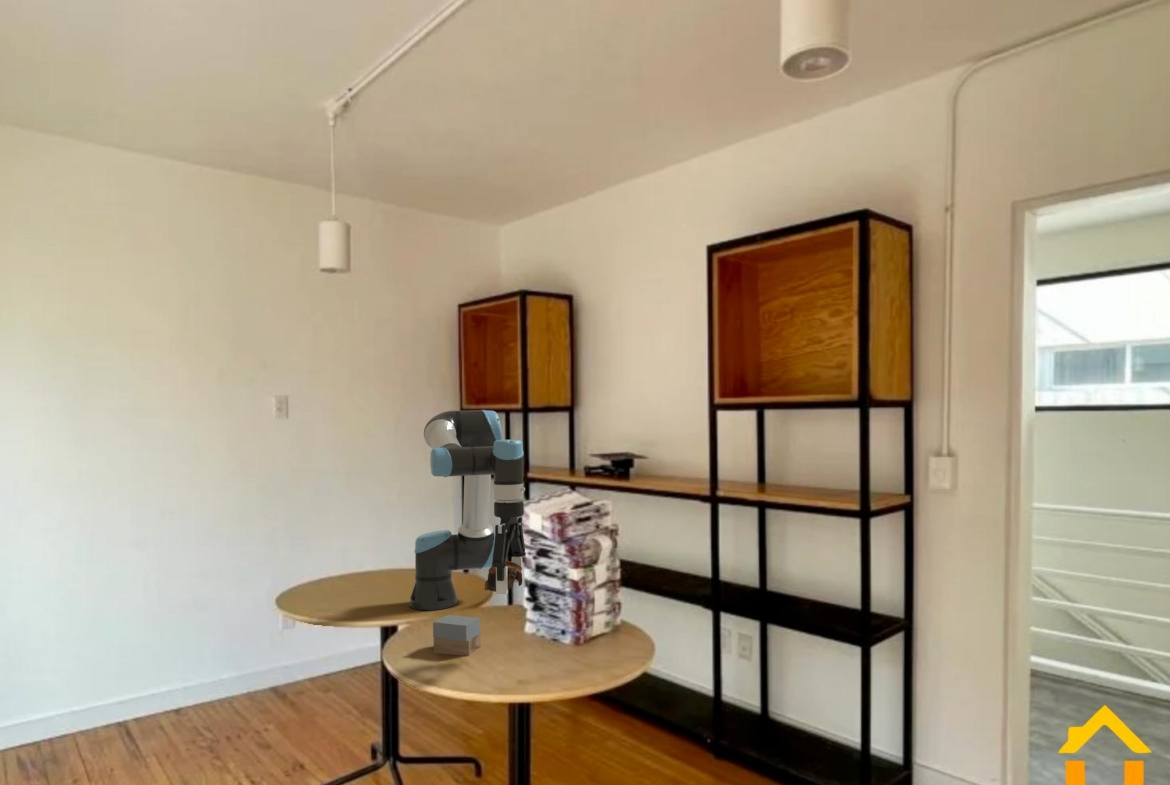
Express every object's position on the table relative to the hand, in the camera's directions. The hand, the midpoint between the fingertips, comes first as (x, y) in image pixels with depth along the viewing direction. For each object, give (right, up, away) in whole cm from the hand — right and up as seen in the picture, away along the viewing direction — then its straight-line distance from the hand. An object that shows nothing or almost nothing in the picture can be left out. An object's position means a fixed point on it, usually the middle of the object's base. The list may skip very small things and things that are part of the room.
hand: (509, 587), depth 174 cm
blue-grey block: (-15, -14, +7) cm, 22 cm away
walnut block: (-14, -18, +7) cm, 24 cm away
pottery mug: (-1, -1, 0) cm, 1 cm away
